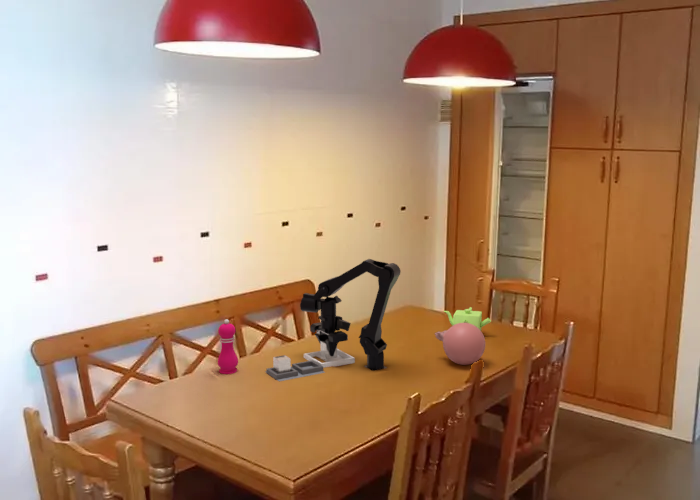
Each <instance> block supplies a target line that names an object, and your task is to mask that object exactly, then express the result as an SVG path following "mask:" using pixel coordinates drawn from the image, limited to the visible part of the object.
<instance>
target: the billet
mask: <svg viewBox="0 0 700 500" xmlns="http://www.w3.org/2000/svg"><path fill="white" fill-rule="evenodd" d="M272 360H273V361H272V362H273V363H272V364H273V365H272V366H273V367H272V368H274V372H275V373H277V374H281V373H286V372H291V367H292V363H291V360H292V359H291V358H290V357H289V356H287V355H278V356H273V357H272Z"/></svg>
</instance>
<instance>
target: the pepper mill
mask: <svg viewBox="0 0 700 500" xmlns="http://www.w3.org/2000/svg"><path fill="white" fill-rule="evenodd" d="M223 321H224V322H223V323H222V324H221V325H220V326H219V327H218V331H217V332H218V335H219V336H220V337H219V341H220V342H221V349H220V353H219V355H218V357H217V366H218V367H219V370H218V372H219V373H220V374H222V375H232V374H235V373H237V372H238V367H237V366H238V364H239V359H238V355H237V354H236V351H235V349H234V342H235V334H236V332H237V331H236V327H235V326H234V324H233V323H230V320H229V319H224V320H223Z"/></svg>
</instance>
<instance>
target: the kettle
mask: <svg viewBox="0 0 700 500" xmlns="http://www.w3.org/2000/svg"><path fill="white" fill-rule="evenodd" d="M443 312H444V313H445V314H446V315H447V317H448V322H449V323H450V324H451V326H453V325H455V324H458V323H470V324H472V325H474V326H476V327H477V328H479V330H480V331H481V332H482V328H483V327H485V326H486V325H488V324H490V323H491V322H492V320H491V318H489V317H487V318H485V319H484V320H482V317H483V315H482V313H483V311H482V310H481V311H479V310H473V307H471V306H469V308H464V310H462V309H456V311H455V312H454V314H453V316H452V314H451V312H450V311H449V310H443Z"/></svg>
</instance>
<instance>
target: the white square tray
mask: <svg viewBox="0 0 700 500" xmlns="http://www.w3.org/2000/svg"><path fill="white" fill-rule="evenodd" d="M314 357H317V358H319V359H320V360H322V361H324V362H321V361H319V360H318V359H316V358H314ZM303 359H305V360H306V361H311V360H313V361H315V362H316V363H318V364H320V365H322V366H323V369H324V368H330V367H340V366H345V365H351V364H355V363H356V358H355V357H354V356H352V355H350V354H349V353H346V352H345V351H343V350H341V349H339V348H337V358H333V359H328V360H326V359H324V358H322V357H321V350H319V351H312V352H306V353H303Z"/></svg>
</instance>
